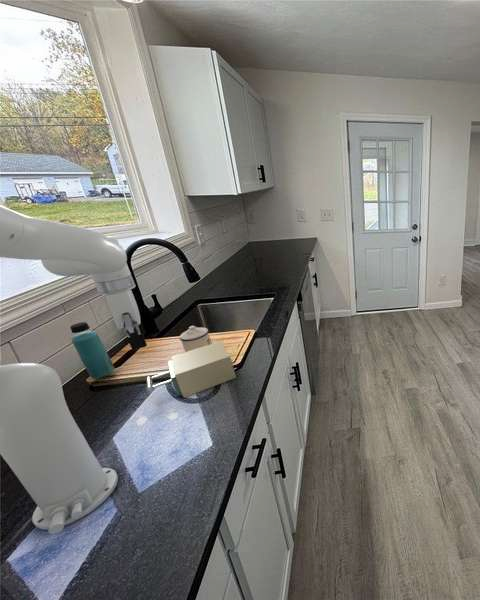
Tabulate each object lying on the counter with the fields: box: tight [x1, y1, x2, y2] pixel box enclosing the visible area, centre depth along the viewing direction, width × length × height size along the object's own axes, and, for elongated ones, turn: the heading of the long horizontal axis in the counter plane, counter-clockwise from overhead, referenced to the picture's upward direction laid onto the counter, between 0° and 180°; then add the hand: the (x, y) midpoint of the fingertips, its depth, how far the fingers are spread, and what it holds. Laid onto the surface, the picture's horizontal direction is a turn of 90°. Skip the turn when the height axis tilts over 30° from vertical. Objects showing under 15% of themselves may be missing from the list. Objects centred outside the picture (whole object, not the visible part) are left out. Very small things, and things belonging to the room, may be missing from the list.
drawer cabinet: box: [170, 340, 237, 399], centre depth 101 cm, size 15×14×8 cm
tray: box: [145, 360, 183, 397], centre depth 98 cm, size 20×12×6 cm, turn 129°
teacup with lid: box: [179, 325, 213, 352], centre depth 115 cm, size 12×9×12 cm
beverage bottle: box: [69, 321, 115, 379], centre depth 102 cm, size 6×7×20 cm
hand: (139, 341), depth 89 cm, fingers open, 9 cm apart
